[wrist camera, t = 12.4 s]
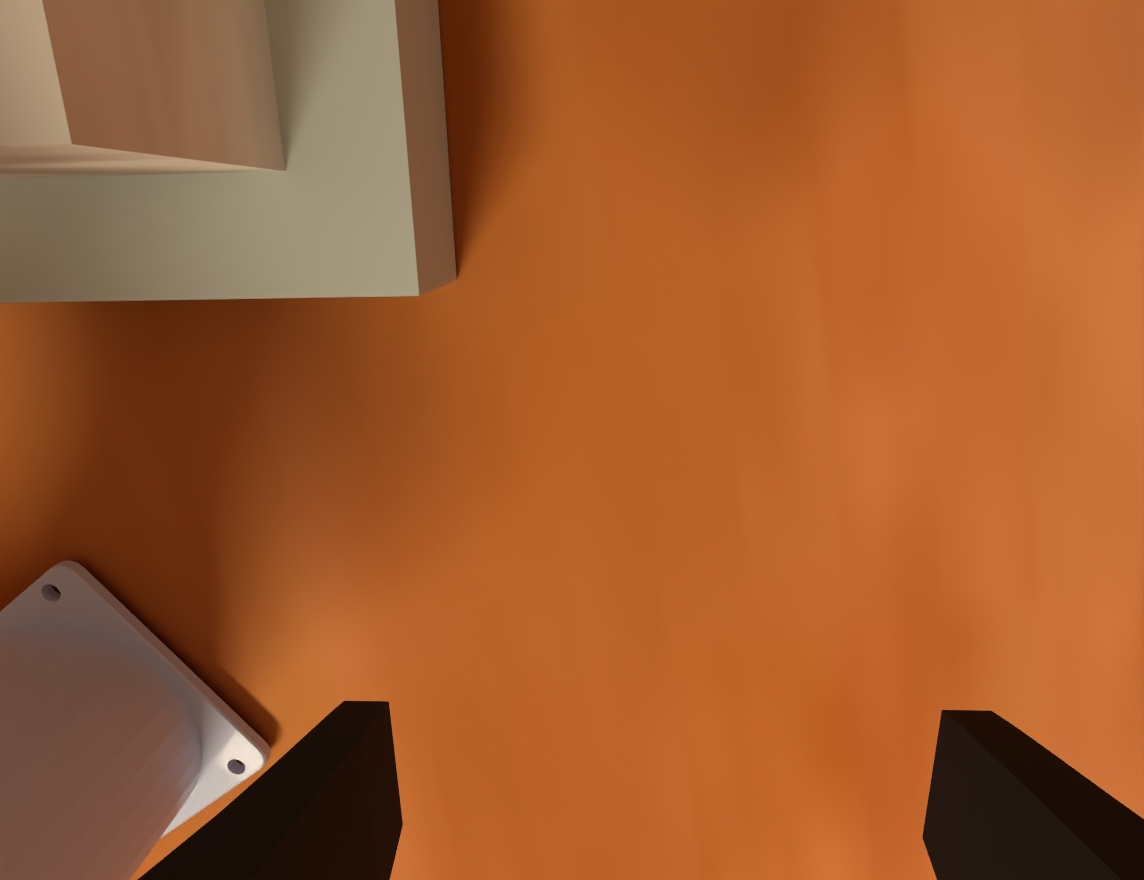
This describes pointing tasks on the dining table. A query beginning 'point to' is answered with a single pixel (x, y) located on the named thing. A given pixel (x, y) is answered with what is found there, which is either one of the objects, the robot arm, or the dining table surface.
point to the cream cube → (136, 88)
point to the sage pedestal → (270, 185)
